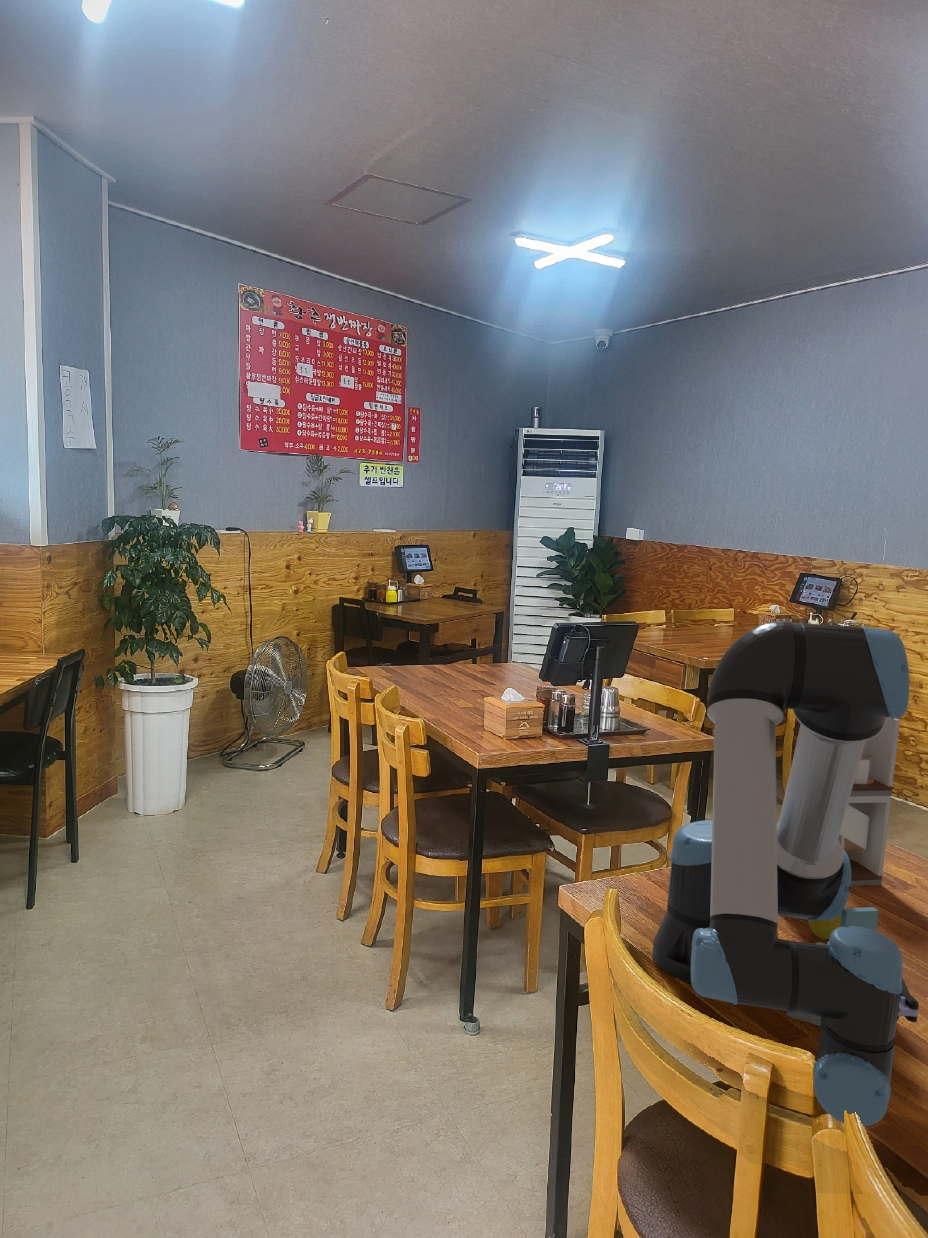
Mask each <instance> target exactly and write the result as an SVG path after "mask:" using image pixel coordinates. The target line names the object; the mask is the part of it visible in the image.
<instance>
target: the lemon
mask: <svg viewBox="0 0 928 1238" xmlns="http://www.w3.org/2000/svg"><path fill="white" fill-rule="evenodd" d="M841 915H842V913H841V914H840V915H839V916H838V917H837V918H836V919H833V920H830V921H824V920H813V921H809V920H807V921H808V925H809V928H810V929H811V931H812V933H813V934H814V935H815V936H817V937H819V939H820V940H821V941H826V940H829V938H830V935H831V933H832V931H833V930H835V929H836V928H839V927H840V924H841Z"/></svg>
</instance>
